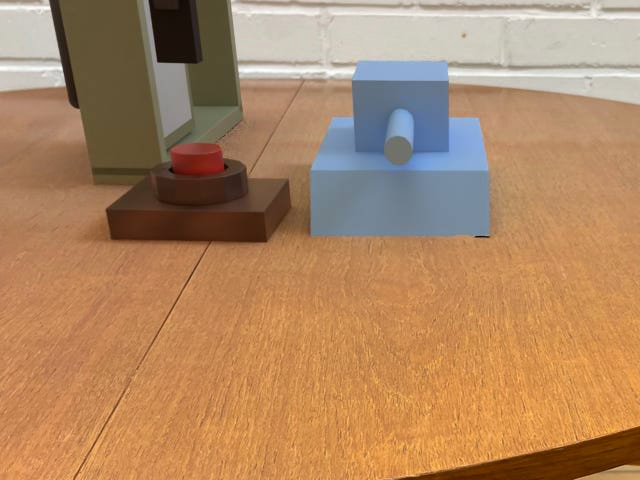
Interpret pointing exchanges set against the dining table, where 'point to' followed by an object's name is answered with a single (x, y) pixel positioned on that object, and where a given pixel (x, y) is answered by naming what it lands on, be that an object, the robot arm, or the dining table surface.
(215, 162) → the button
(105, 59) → the window frame
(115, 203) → the button block
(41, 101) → the dining table surface
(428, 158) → the toy tank
